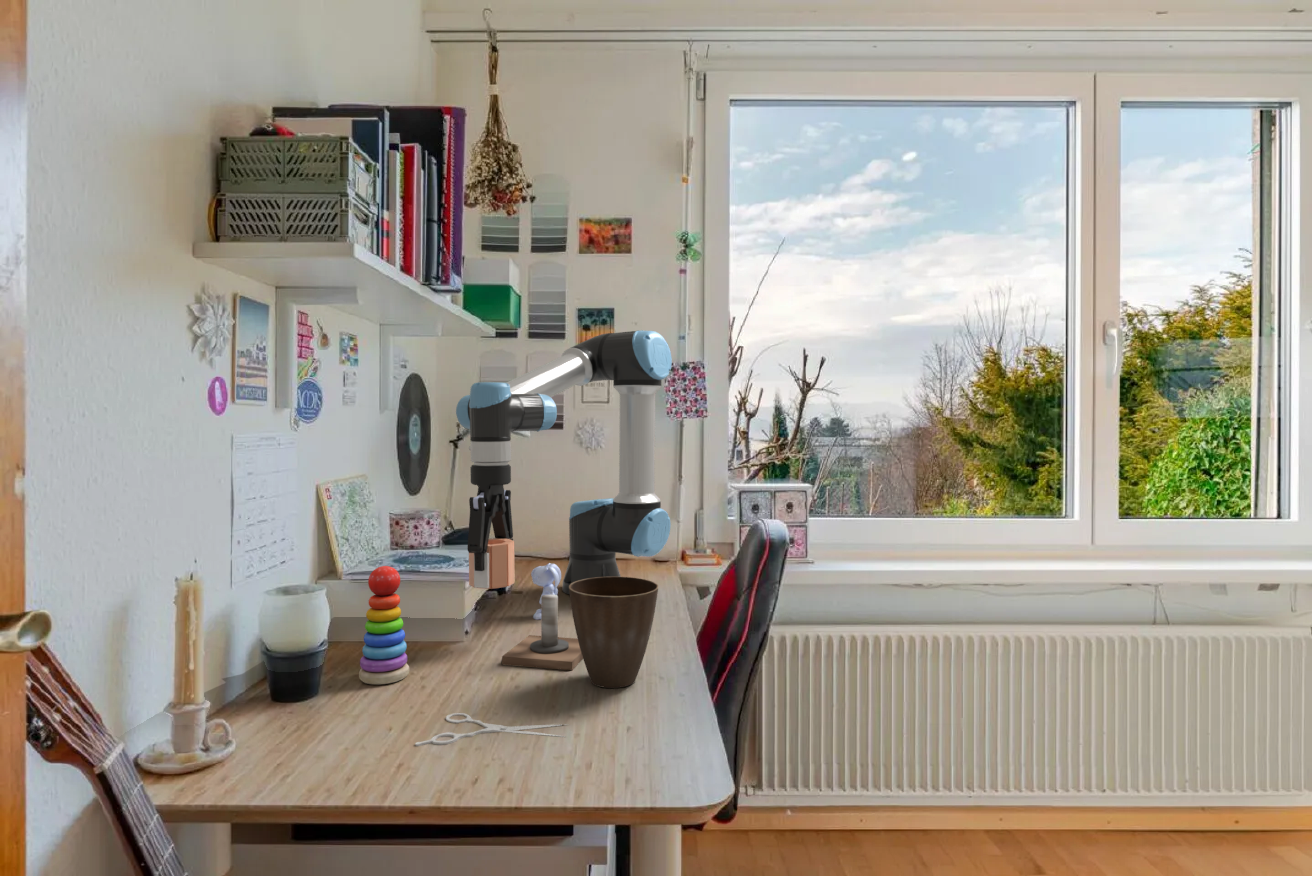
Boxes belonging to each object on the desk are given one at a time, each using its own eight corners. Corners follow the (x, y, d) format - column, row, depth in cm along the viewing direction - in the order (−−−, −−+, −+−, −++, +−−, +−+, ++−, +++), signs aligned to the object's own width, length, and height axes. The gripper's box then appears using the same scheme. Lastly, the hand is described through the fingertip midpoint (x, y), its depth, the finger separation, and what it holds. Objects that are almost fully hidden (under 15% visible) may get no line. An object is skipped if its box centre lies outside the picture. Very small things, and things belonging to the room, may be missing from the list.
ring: (481, 577, 145) (481, 537, 145) (519, 579, 144) (519, 539, 143) (463, 587, 138) (462, 544, 137) (503, 589, 136) (502, 546, 136)
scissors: (438, 712, 109) (574, 712, 108) (438, 717, 109) (574, 718, 108) (414, 744, 98) (564, 744, 98) (414, 749, 98) (564, 750, 98)
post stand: (529, 642, 143) (529, 586, 143) (593, 647, 140) (593, 590, 140) (502, 664, 130) (502, 602, 130) (572, 670, 128) (572, 607, 127)
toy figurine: (533, 612, 165) (533, 559, 165) (562, 612, 165) (562, 559, 165) (528, 620, 158) (528, 565, 158) (557, 620, 158) (558, 565, 158)
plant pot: (573, 664, 130) (573, 575, 130) (657, 665, 130) (657, 575, 130) (563, 697, 115) (563, 596, 115) (658, 697, 116) (659, 596, 115)
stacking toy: (418, 677, 123) (418, 566, 123) (372, 690, 118) (372, 574, 117) (395, 666, 129) (395, 560, 128) (350, 677, 123) (350, 566, 122)
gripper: (495, 459, 151) (496, 569, 152) (446, 467, 130) (447, 594, 131) (529, 460, 149) (530, 571, 150) (485, 468, 129) (486, 596, 130)
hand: (491, 581), depth 141 cm, fingers closed on ring, 8 cm apart
